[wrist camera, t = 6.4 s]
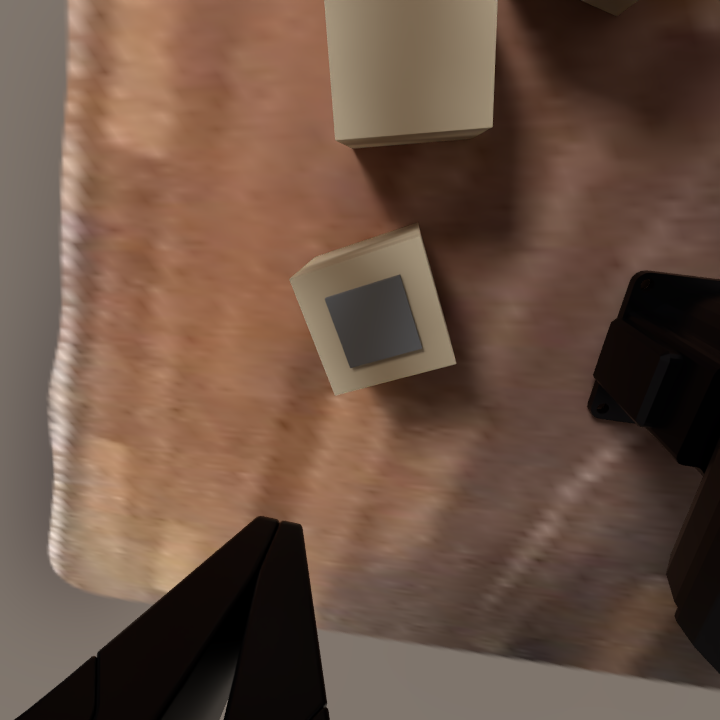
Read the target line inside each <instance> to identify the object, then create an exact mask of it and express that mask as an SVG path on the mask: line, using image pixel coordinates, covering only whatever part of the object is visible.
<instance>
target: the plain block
mask: <svg viewBox="0 0 720 720" xmlns="http://www.w3.org/2000/svg"><path fill="white" fill-rule="evenodd" d="M497 2H498V0H324V3H325V15H326V28H327V41H328V53H329V66H330V79H331V91H332V104H333V117H334V129H335V140H336V141H338V142H340V143H342V144H344V145H346V146H348V147H350V148H352V149H353V148H365V147H378V146H390V145H403V144H415V143H428V142H440V141H452V140H465V139H472V138H474V137H476V136H478V135H480V134H481V133H483V132H485V131H487V130H488V129H490V128H492V127H493V102H494V77H495V52H496V27H497Z"/></svg>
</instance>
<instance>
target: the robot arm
mask: <svg viewBox="0 0 720 720" xmlns="http://www.w3.org/2000/svg"><path fill="white" fill-rule="evenodd" d="M646 279H649V280H650V282H649V285H648V287H646V288H645V289H641V283H642V282H643V281H644V280H646ZM593 376H594V377H595V379H596V381H595V383H594V386H593V389H592V392H591V395H590V398H589V401H588V406H587V407H588V409H589V411H590V412H591V414H592V415H593V416H594V417H596V418H599V419H606V420H613V421H620V422H627V423H634V424H637V425H638V426H640V427H645V428H646V429H647V430H648V431H649V432H650V433H651V434H652V436H653V437H654V438H655V439H656V440H657V441H658V442H659V443H660V444H661V445H662V446H663V447H664V448H665V449H666V450H667V452H668V453H669V454H670V455H671V456H672V457H673V458H674V459H675V460H676V461H677V462H678V463H679V464H681V465H685V466H692V467H695V468H696V469H697V470H698V471H699V472H700V473H701V474H702V475H703V478H702V481H701V483H700V486H699V488H698V490H697V493H696V495H695V498H694V500H693V502H692V505H691V507H690V510H689V512H688V514H687V517H686V519H685V522H684V524H683V526H682V529H681V531H680V533H679V536H678V538H677V541H676V543H675V546H674V548H673V550H672V553H671V556H670V560H669V564H668V569H667V573H666V575H667V578H668V581H669V585H670V588H671V592H672V595H673V598H674V602H675V603H676V605H677V607H678V608H677V610H676V613H675V619H676V621H677V623H678V624H679V626H680V627H681V628H682V630H683V631H684V633H685V634H686V636H687V637H688V639H689V640H690V641H691V643H692V644H693V646H694V647H695V648H696V649H697V650H698V651H699V652H700V653H701V654H702V656H703V657H704V658H705V659H706V660H707V661H708V662H709V663H710V664H711V665H712V666H713V667H714V668H715V669H716V670H717V672H718V673H719V674H720V279H712V278H704V277H696V276H688V275H680V274H671V273H663V272H655V271H640V272H638V273H636V274H635V275H634V276H633V277H632V278H631V280H630V282H629V285H628V288H627V291H626V294H625V297H624V300H623V303H622V305H621V308H620V311H619V314H618V317H617V318H616V319H615V320H614V321H612V322H611V324H610V327H609V330H608V333H607V336H606V339H605V341H604V344H603V347H602V350H601V353H600V356H599V359H598V362H597V365H596V368H595V371H594V374H593ZM604 403H605V406H604V408H602V409H597V407H598V405H600V404H604ZM228 698H229V699H228ZM227 700H228V703H227V707H226V712H225V716H224V720H330V718H329V711H328V708H327V707H326V706H327V699H326V692H325V684H324V677H323V671H322V663H321V656H320V649H319V642H318V635H317V628H316V621H315V614H314V606H313V599H312V592H311V585H310V578H309V571H308V564H307V557H306V550H305V543H304V535H303V529H302V526H301V525H300V524H298V523H293V522H288V521H281V522H280V523H279V521H278V520H277V519H274V518H269V517H264V516H258V517H256V518H255V519H254V520H253V521H252V522H250V523H249V524H248V525H247V526H246V527H245V528H243V529H242V530H241V531H240V532H239V533H237V534H236V535H235V536H234V537H233V538H232V539H230V540H229V541H228V542H227V543H226V544H224V545H223V546H222V547H221V548H220V549H219V550H217V551H216V552H215V553H214V554H213V555H212V556H210V557H209V558H208V559H207V560H206V561H204V562H203V563H202V564H201V565H200V566H199V567H197V568H196V569H195V570H194V571H193V572H191V573H190V574H189V575H188V576H187V577H186V578H184V579H183V580H182V581H181V582H180V583H179V584H177V585H176V586H175V587H174V588H173V589H171V590H170V591H169V592H168V593H167V594H166V595H164V596H163V597H162V598H161V599H160V600H158V601H157V602H156V603H155V604H154V605H153V606H151V607H150V608H149V609H148V610H147V611H146V612H144V613H143V614H142V615H141V616H140V617H139V618H137V619H136V620H135V621H134V622H133V623H131V624H130V625H129V626H128V627H127V628H126V629H124V630H123V631H122V632H121V633H120V634H118V635H117V636H116V637H115V638H114V639H112V640H111V641H110V642H109V643H108V644H107V645H106V646H104V647H103V648H102V649H101V650H100V651H99V652H98V653H97V657H95V656H92V657H91V658H90V659H89V660H87V661H86V662H85V663H84V664H83V665H82V666H80V667H79V668H78V669H77V670H76V671H74V672H73V673H72V674H71V675H70V676H69V677H67V678H66V679H65V680H64V681H62V682H61V683H60V684H59V685H58V686H56V687H55V688H54V689H53V690H51V691H50V692H49V693H48V694H47V695H45V696H44V697H43V698H41V699H40V700H39V701H38V702H37V703H35V704H34V705H33V706H32V707H30V708H29V709H28V710H27V711H25V712H24V713H23V714H21V715H20V716H19V717H17V718H16V719H15V720H219V719H220V717H221V714H222V712H223V710H224V707H225V705H226V702H227Z"/></svg>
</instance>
